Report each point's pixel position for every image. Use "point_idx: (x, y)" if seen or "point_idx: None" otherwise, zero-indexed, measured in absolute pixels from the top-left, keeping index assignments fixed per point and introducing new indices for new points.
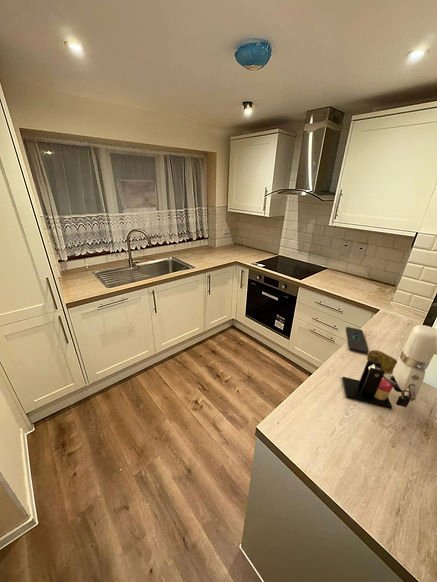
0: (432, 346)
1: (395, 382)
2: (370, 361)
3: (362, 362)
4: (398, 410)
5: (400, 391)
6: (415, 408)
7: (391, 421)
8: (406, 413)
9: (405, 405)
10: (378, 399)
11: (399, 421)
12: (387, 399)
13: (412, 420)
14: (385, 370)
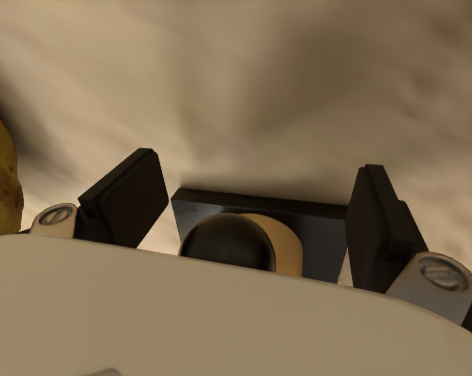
0: None
1: (134, 207)
2: None
3: (33, 214)
4: (354, 163)
5: (275, 259)
6: (301, 2)
7: (460, 238)
8: (378, 115)
9: (405, 208)
10: (304, 264)
11: (463, 194)
12: (288, 221)
13: (457, 93)
14: (1, 138)
